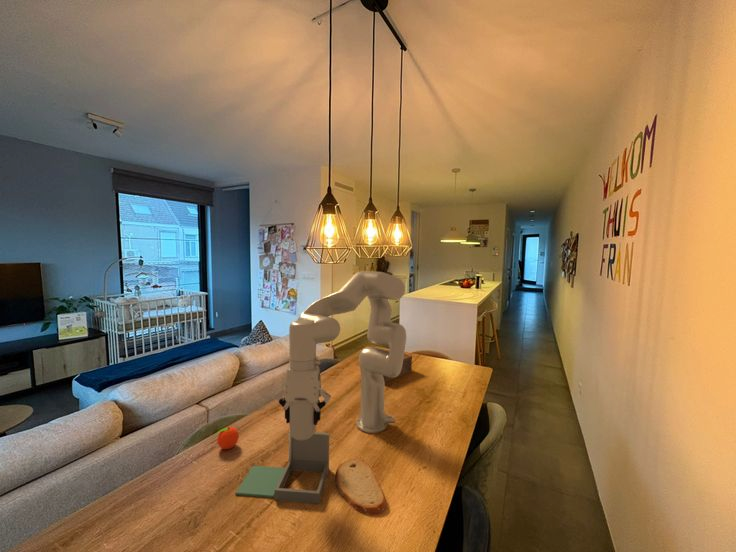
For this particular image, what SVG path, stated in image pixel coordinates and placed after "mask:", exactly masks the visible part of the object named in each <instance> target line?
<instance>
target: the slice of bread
mask: <svg viewBox="0 0 736 552" xmlns="http://www.w3.org/2000/svg"><path fill="white" fill-rule="evenodd" d="M334 480H335V482H334V483H335V485H336V488H337V491H338V493H339V495H340V496H341V497H342V498H343V499H344V501H345V502H346V503H347V504H348V506H350V507H352V508H353V509H354V510H355V511H357V512H360V513H362V514H365V515H371V516H377V515H382V514H384V513H385V512H386V510H387V503H386V499H385V498H386V497H385V495H384V492H383V489H382V488H381V485H380V482H379V481H378V479H377V477H376V475H375V474H374V471H373V469H371V467H370V466H369V465H368V463H367V462H366V461H365V460H364V459H362V458H360V457H355V458H350V459H348V460H347V461H344V462H343V463H340V464H339V465H338V467H337V468H336V471H335V474H334Z"/></svg>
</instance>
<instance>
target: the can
mask: <svg viewBox="0 0 736 552" xmlns="http://www.w3.org/2000/svg"><path fill="white" fill-rule="evenodd" d="M293 400H294V401H293V402H290V422H289V430H290V435H291V436H292V437H293V438H294V439H296V440H306V439H309V438H310V437H311V436H312V435H314V433H315V432H316V430H317V429H316V428H317V427H316V426H317V425H315V424H314V411H315V408H314V406H313V404H311V403H309V402H308V400H296V399H293Z"/></svg>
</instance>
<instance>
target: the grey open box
mask: <svg viewBox="0 0 736 552" xmlns="http://www.w3.org/2000/svg"><path fill="white" fill-rule="evenodd" d="M284 468H285V470H284V472H283V474H282V476H281V478H280V480H279V482H278V484H277V486H276V488H275V495H274V501H283V502H290V503H291V502H293V503H304V504H305V503H306V504H314V505H315V504H317V505H319V504H320V502H321V498H322V495H323V492H324V488H325V484H326V482H327V478H328V473H329V471H330V470H329V469H330V432H315V433H314V435H312V436H311V437H310V438H309V439H306V440H296V439H294V438H293V437H292V436H291V435H290V429H289V430H288V462H287V463H286V466H285V467H284ZM292 471H295V472H296V471H298V472H310V473H311V472H312V473H321V478H320V481H319V483H318V487H317V490H308V489H295V488H294V489H293V488H285V485H286V482H287V481H288V478H289V476H290V473H291V472H292Z"/></svg>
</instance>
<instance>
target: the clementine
mask: <svg viewBox="0 0 736 552" xmlns="http://www.w3.org/2000/svg"><path fill="white" fill-rule="evenodd" d="M217 434H218V435H217ZM216 436H217V439H216V441H217V445H218V447H219V448H221V449H223V450H229V449H232V448H234V447H235V446H236V444H237V443H238V441H239V439H240V438H239V437H240V434H239V431H238V429H237V428H235V427H232V426H226V427H224V428H222V429H219V431H217V433H215V434H214V437H213V438H215V437H216Z"/></svg>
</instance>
